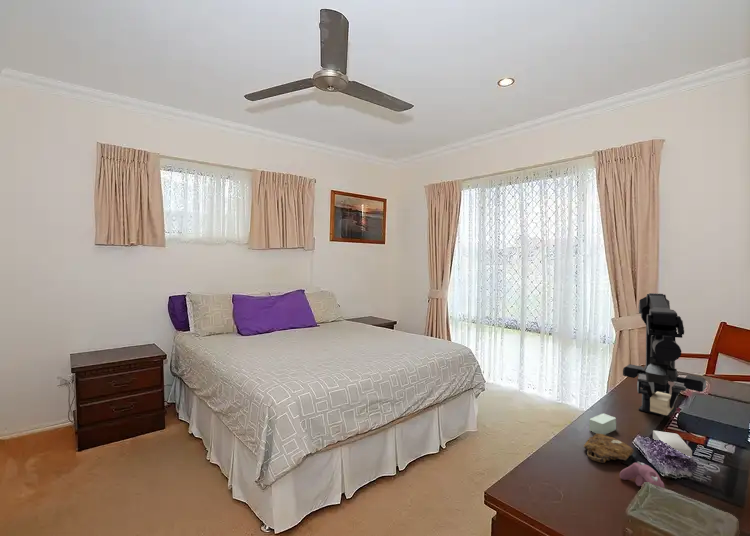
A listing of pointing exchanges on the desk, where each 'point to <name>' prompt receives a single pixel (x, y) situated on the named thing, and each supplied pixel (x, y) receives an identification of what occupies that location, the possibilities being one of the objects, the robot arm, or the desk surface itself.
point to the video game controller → (641, 474)
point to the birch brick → (660, 403)
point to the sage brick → (602, 424)
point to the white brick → (673, 441)
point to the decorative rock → (607, 448)
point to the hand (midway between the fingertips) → (662, 405)
